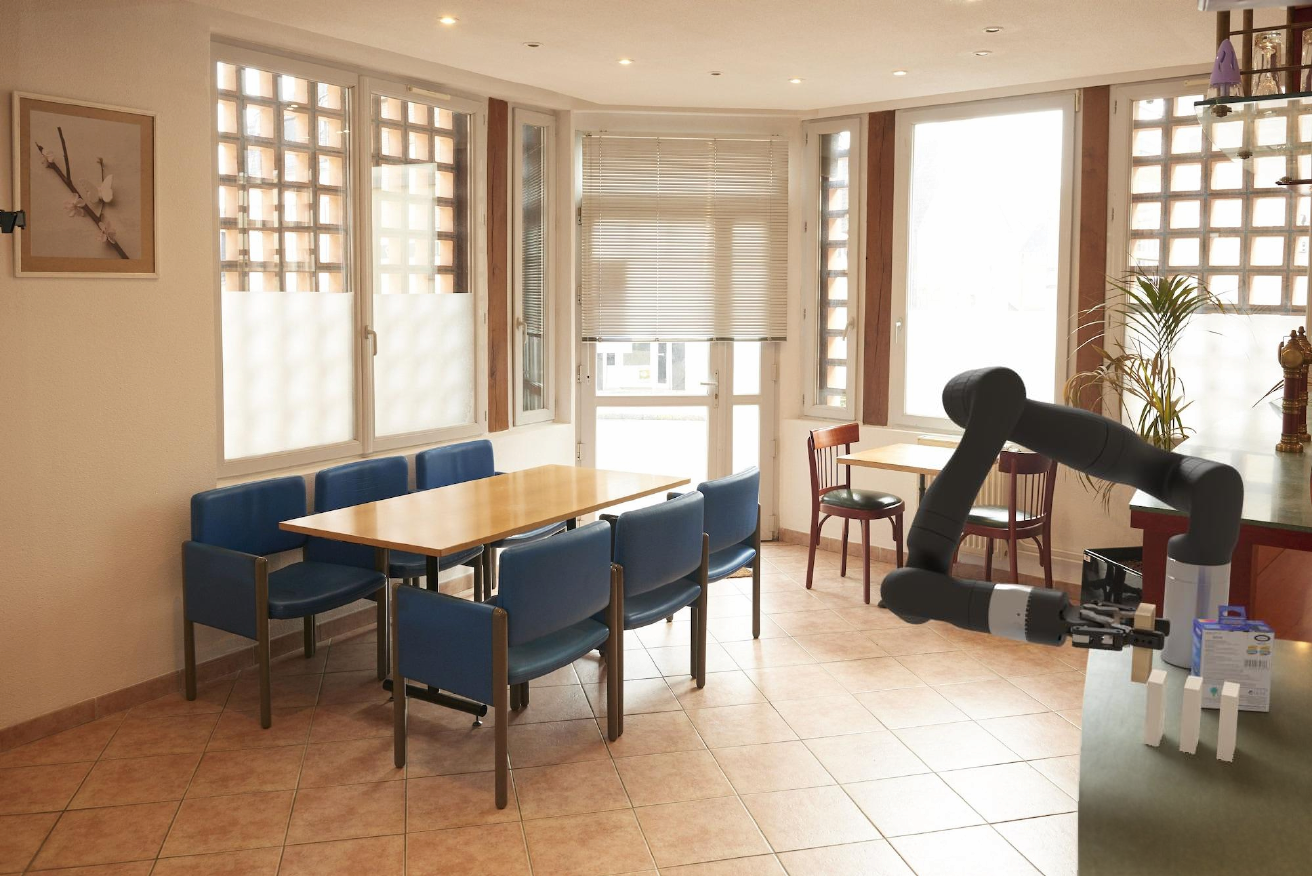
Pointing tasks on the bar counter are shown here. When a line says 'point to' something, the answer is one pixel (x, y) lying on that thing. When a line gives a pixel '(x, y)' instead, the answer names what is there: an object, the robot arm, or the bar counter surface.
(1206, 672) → the ink cartridge box
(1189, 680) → the ivory domino
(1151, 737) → the ivory domino
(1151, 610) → the oak domino
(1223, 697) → the ivory domino
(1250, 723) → the bar counter surface
